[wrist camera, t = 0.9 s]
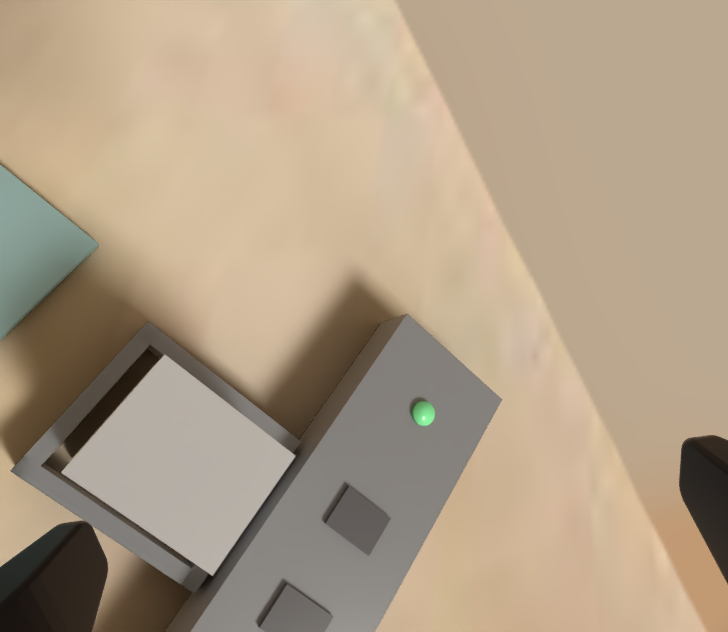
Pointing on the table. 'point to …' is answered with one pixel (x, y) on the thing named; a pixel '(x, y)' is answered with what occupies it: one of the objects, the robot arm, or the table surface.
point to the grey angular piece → (312, 487)
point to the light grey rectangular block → (181, 464)
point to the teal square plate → (33, 249)
